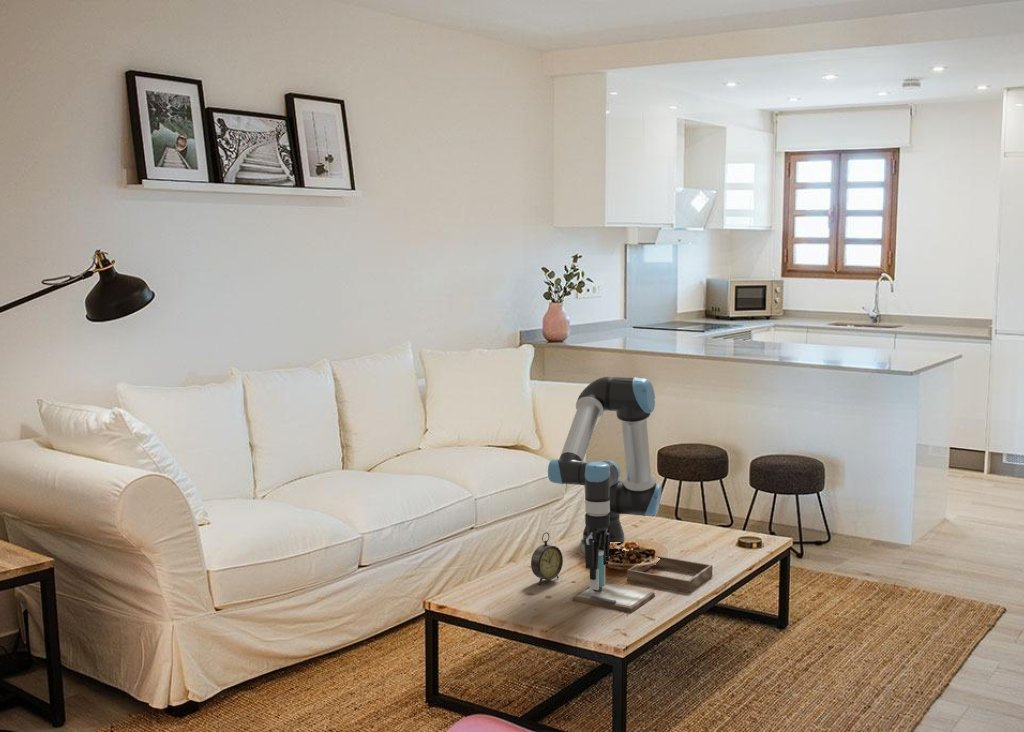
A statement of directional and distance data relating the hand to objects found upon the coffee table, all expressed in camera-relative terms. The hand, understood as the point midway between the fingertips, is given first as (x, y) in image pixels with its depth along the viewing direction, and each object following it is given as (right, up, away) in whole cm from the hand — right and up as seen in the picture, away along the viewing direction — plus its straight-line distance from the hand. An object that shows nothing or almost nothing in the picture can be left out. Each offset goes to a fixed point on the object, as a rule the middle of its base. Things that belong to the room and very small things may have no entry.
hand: (597, 586), depth 320 cm
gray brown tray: (+25, -1, +17) cm, 30 cm away
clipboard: (+5, -3, -1) cm, 6 cm away
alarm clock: (-15, -2, +15) cm, 22 cm away
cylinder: (0, -1, 0) cm, 1 cm away
